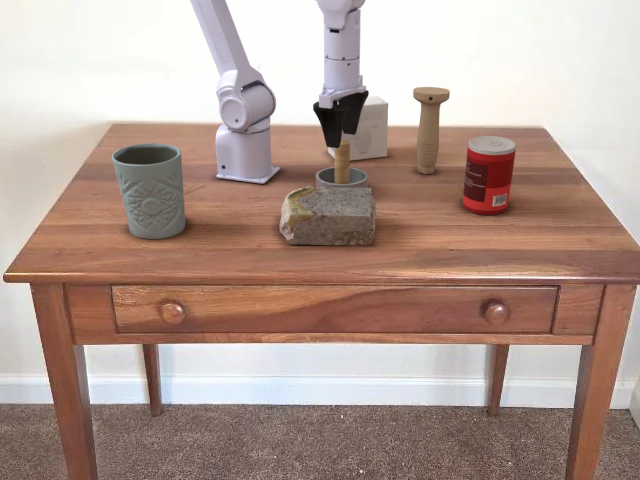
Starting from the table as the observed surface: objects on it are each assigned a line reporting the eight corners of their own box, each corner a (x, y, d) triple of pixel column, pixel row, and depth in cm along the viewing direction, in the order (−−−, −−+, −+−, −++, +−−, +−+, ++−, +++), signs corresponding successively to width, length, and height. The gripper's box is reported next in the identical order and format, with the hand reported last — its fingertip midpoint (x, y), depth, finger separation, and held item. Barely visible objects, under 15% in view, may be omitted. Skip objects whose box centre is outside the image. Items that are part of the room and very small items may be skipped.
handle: (442, 177, 137) (449, 95, 129) (408, 175, 138) (412, 93, 130) (443, 168, 141) (450, 88, 133) (409, 166, 142) (414, 86, 134)
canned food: (511, 201, 128) (519, 138, 122) (503, 219, 122) (511, 153, 116) (467, 195, 130) (473, 133, 124) (457, 212, 124) (463, 147, 118)
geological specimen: (380, 215, 110) (278, 210, 108) (376, 251, 113) (277, 248, 112) (374, 186, 119) (280, 181, 117) (371, 220, 122) (279, 217, 121)
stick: (340, 193, 129) (340, 145, 124) (331, 188, 130) (331, 141, 126) (352, 190, 130) (352, 142, 125) (343, 185, 132) (344, 138, 127)
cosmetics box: (375, 146, 151) (377, 94, 145) (387, 157, 146) (389, 103, 140) (326, 152, 148) (326, 98, 142) (337, 162, 143) (337, 107, 137)
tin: (308, 197, 128) (308, 181, 126) (325, 179, 135) (325, 164, 134) (358, 204, 126) (359, 187, 124) (373, 185, 133) (373, 169, 132)
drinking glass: (156, 247, 111) (145, 169, 104) (109, 231, 115) (96, 155, 109) (203, 223, 118) (195, 150, 112) (156, 209, 123) (146, 138, 116)
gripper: (349, 68, 111) (348, 156, 119) (380, 49, 123) (377, 130, 130) (305, 64, 113) (307, 150, 121) (340, 45, 125) (340, 126, 132)
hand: (341, 140), depth 126 cm, fingers open, 7 cm apart
